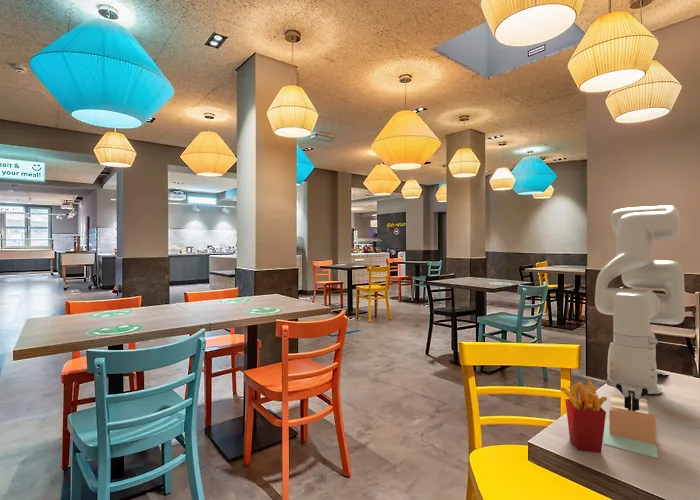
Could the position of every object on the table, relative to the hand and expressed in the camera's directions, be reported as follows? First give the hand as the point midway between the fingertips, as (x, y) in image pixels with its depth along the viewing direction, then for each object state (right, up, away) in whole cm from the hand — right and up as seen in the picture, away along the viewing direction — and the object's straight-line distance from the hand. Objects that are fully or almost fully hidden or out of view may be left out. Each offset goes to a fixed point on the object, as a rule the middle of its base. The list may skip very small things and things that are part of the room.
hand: (631, 411), depth 96 cm
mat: (-5, -5, -6) cm, 9 cm away
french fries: (-18, -5, -7) cm, 20 cm away
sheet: (+3, -5, +5) cm, 8 cm away
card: (-2, -1, -3) cm, 4 cm away
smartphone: (+33, -3, +36) cm, 49 cm away
